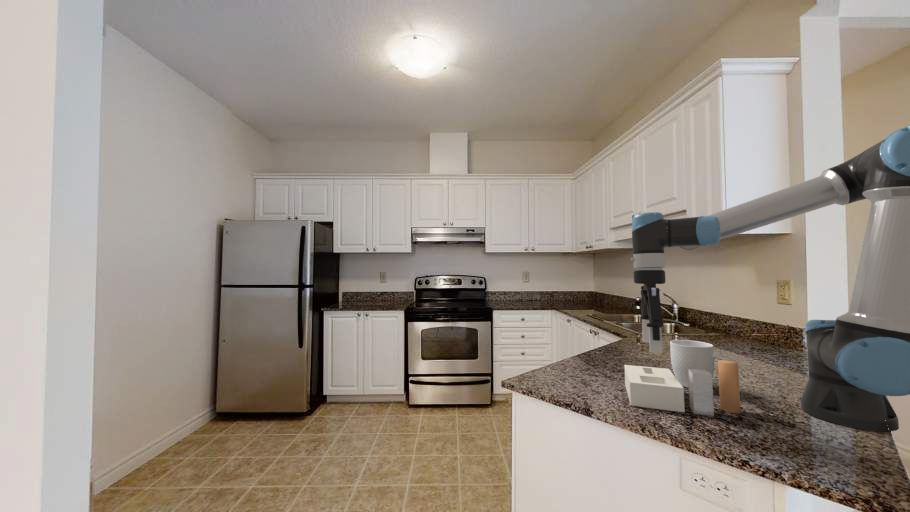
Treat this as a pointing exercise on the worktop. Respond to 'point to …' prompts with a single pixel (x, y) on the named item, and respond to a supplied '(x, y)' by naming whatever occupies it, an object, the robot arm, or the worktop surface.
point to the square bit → (701, 392)
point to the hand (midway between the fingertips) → (651, 347)
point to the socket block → (654, 388)
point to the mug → (692, 359)
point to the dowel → (729, 386)
